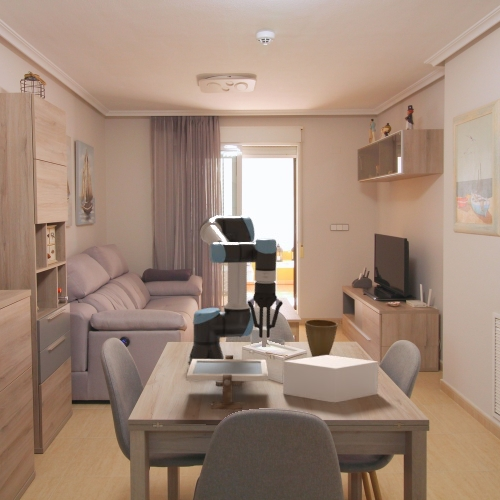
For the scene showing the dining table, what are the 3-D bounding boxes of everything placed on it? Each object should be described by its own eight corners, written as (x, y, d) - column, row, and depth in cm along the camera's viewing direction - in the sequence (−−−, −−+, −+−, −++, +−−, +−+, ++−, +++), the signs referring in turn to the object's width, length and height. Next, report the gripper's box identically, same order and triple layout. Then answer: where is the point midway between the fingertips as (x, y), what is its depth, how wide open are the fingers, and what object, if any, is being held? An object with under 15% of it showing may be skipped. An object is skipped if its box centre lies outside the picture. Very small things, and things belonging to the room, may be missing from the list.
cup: (274, 359, 237) (274, 337, 237) (288, 363, 232) (288, 341, 231) (262, 363, 232) (262, 340, 231) (275, 367, 226) (275, 344, 225)
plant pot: (300, 359, 239) (301, 324, 237) (309, 351, 252) (310, 318, 251) (332, 362, 233) (333, 327, 232) (339, 354, 247) (340, 321, 246)
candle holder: (263, 357, 241) (264, 331, 240) (245, 353, 246) (245, 328, 246) (274, 352, 250) (274, 327, 249) (256, 349, 255) (256, 324, 254)
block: (280, 386, 201) (281, 354, 200) (371, 386, 202) (372, 355, 202) (285, 402, 184) (285, 368, 183) (384, 403, 185) (385, 368, 184)
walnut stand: (212, 408, 177) (212, 376, 176) (216, 382, 204) (216, 354, 204) (241, 408, 177) (241, 377, 177) (241, 382, 204) (242, 355, 204)
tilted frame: (186, 381, 179) (186, 375, 179) (192, 363, 201) (192, 358, 201) (268, 382, 180) (268, 376, 180) (265, 364, 201) (265, 359, 201)
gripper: (247, 283, 184) (246, 348, 186) (284, 283, 184) (282, 349, 186) (247, 280, 192) (246, 343, 194) (282, 280, 192) (281, 343, 194)
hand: (264, 346), depth 190 cm, fingers closed
